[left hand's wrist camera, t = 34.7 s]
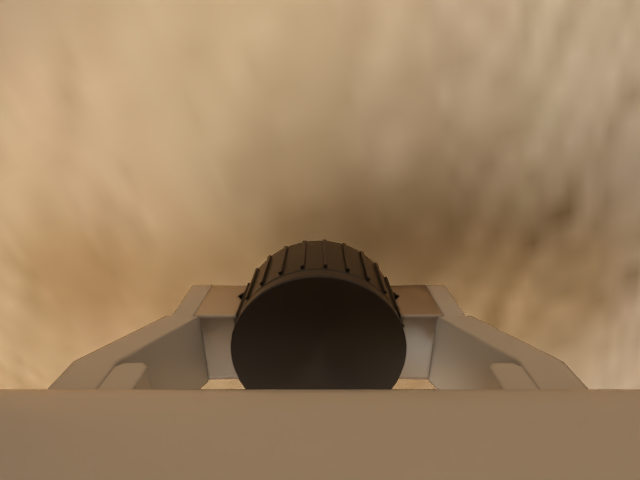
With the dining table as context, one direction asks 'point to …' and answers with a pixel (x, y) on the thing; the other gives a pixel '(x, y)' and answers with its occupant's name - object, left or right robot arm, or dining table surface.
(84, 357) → the left robot arm
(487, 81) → the dining table surface
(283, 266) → the cap
